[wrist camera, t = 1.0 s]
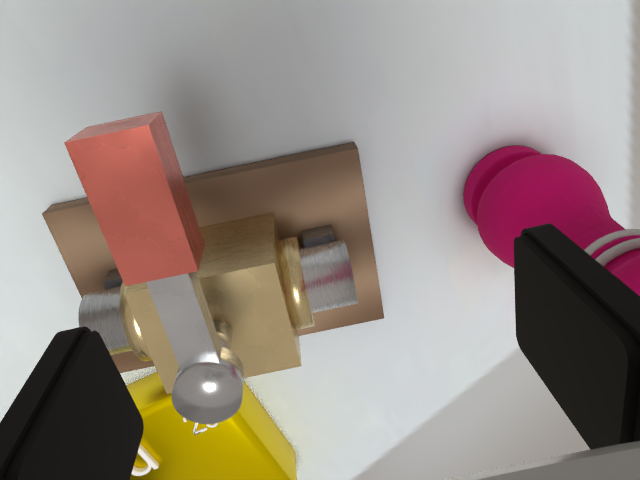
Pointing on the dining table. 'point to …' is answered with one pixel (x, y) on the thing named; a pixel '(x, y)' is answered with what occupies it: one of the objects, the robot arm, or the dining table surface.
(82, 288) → the valve board
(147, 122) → the valve lever
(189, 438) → the element tile
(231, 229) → the ball valve
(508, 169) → the pepper mill
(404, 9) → the dining table surface
